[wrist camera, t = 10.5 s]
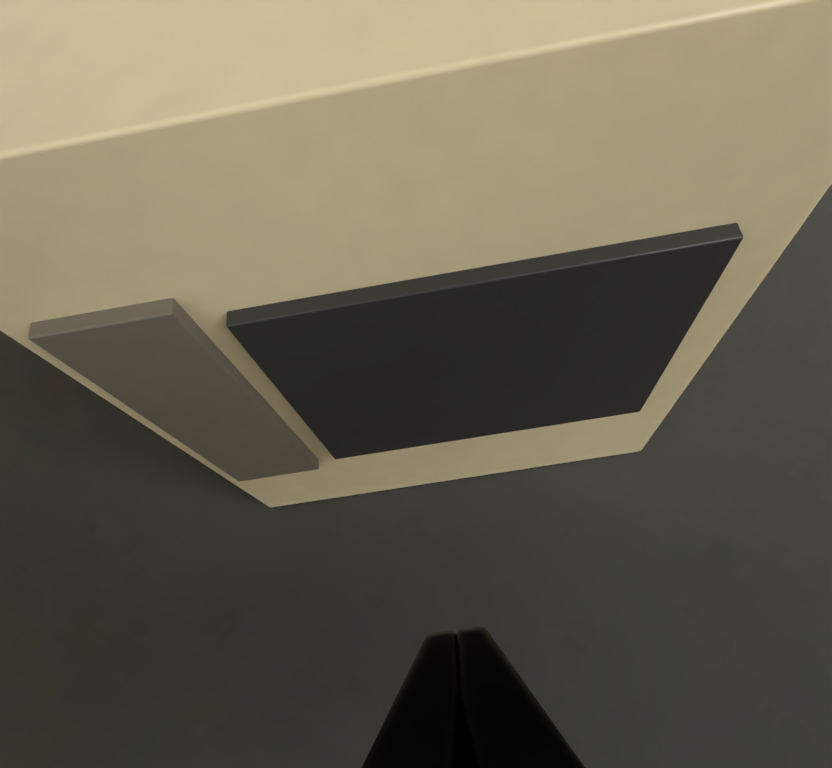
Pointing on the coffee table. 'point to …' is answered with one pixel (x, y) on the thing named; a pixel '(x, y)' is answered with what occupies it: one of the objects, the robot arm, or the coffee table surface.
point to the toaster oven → (399, 218)
